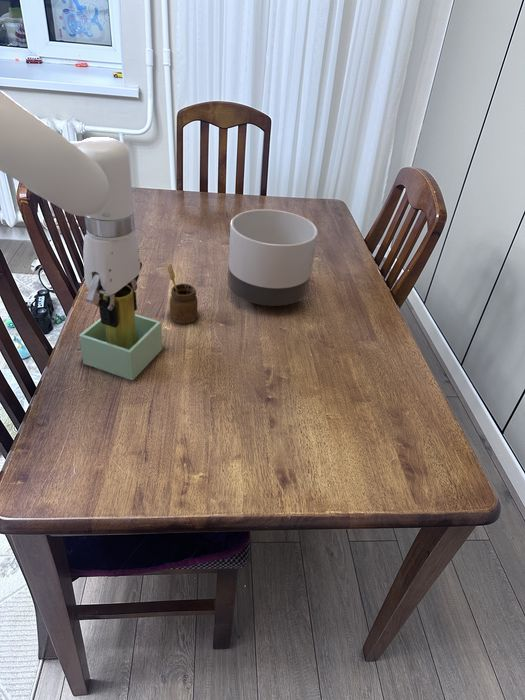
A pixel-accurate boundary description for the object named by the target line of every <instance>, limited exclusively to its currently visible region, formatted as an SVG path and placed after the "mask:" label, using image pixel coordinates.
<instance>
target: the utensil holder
mask: <svg viewBox="0 0 525 700" xmlns="http://www.w3.org/2000/svg"><path fill="white" fill-rule="evenodd" d="M167 270H168V275H169V279H170V280H171V281H172V284H173V286H172V288H171V290H170V297H169V316H170V318H171V321H173V322H175V323H177V324H183V325H184V324H185V325H187V324H190V323H194V322H195V321H196V319H197V317H198V297H197V291H196V287H197V285H194V282H195V283H198V282H197V280H198V279H197V278H198V277H197V276H196V275H194V274H191V275H190V274H188V275H187V276H186V278H185V280H188V279H189V280H188V283H187V281H185V283H178V284H176V281H175V279H176V275H175V272H174V268H173V265H172V263H169V265H167ZM192 277H194V278H192ZM191 278H192V284H189V283H190V281H191ZM194 279H195V281H194Z"/></svg>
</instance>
